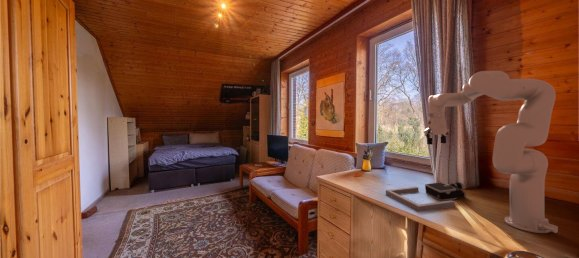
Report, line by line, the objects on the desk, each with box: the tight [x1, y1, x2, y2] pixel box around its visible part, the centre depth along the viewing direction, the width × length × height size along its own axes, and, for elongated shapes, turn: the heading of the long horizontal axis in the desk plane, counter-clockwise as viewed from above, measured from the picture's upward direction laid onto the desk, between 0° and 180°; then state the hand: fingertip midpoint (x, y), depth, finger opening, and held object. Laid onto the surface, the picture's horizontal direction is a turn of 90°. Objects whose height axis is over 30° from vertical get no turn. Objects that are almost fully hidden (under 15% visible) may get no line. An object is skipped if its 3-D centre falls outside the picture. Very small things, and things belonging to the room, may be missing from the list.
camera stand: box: [385, 186, 456, 212], centre depth 119 cm, size 26×21×2 cm
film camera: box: [424, 181, 467, 202], centre depth 122 cm, size 8×16×15 cm
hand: (436, 143), depth 130 cm, fingers open, 9 cm apart
